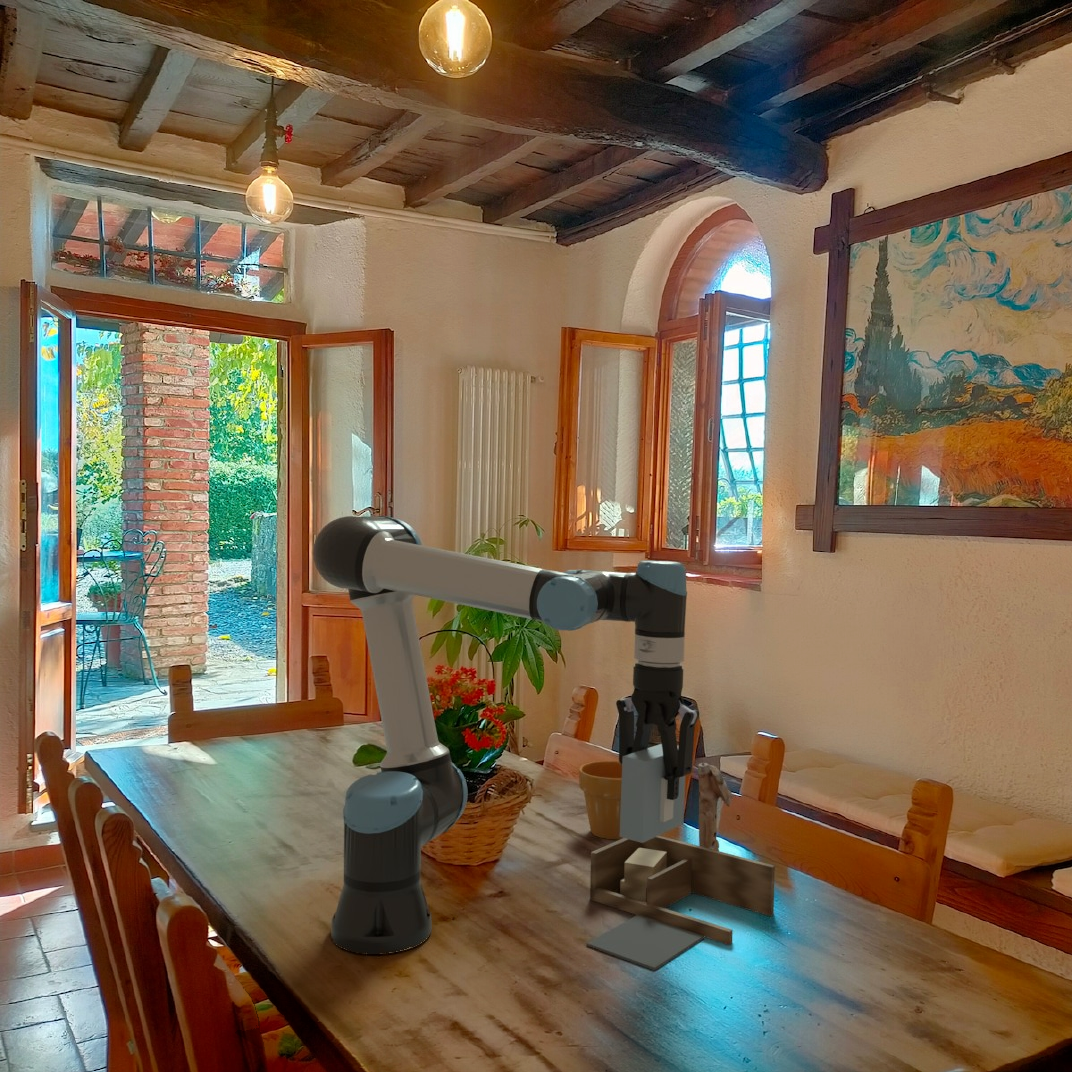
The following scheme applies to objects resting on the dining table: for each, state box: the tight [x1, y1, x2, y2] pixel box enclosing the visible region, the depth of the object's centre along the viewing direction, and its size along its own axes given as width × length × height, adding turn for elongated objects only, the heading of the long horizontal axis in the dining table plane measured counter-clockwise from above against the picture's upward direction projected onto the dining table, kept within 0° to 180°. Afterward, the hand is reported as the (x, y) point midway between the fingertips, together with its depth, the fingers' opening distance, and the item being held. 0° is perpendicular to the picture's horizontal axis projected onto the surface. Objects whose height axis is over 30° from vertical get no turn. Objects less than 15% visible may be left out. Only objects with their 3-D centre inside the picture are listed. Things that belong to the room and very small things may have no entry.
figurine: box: [697, 762, 734, 851], centre depth 176 cm, size 10×8×20 cm
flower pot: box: [578, 760, 623, 840], centre depth 197 cm, size 14×14×13 cm
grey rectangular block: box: [620, 743, 686, 843], centre depth 147 cm, size 4×12×12 cm, turn 142°
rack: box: [589, 835, 776, 946], centre depth 160 cm, size 26×15×8 cm, turn 50°
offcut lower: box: [619, 879, 647, 903], centre depth 164 cm, size 5×8×4 cm, turn 142°
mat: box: [586, 914, 705, 971], centre depth 147 cm, size 12×14×1 cm
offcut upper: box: [624, 848, 667, 887], centre depth 164 cm, size 5×8×4 cm, turn 157°
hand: (652, 815), depth 147 cm, fingers closed on grey rectangular block, 4 cm apart
